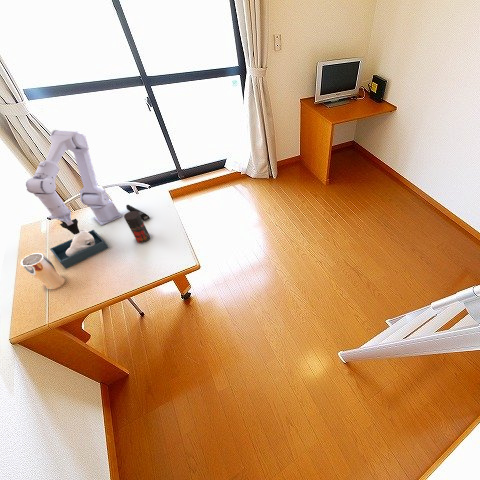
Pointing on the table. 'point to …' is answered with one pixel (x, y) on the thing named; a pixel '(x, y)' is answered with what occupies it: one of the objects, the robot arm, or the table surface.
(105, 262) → the table surface
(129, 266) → the table surface
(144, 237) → the deodorant
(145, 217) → the electric trimmer
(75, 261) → the bin
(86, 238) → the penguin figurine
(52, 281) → the beige tall cylinder
